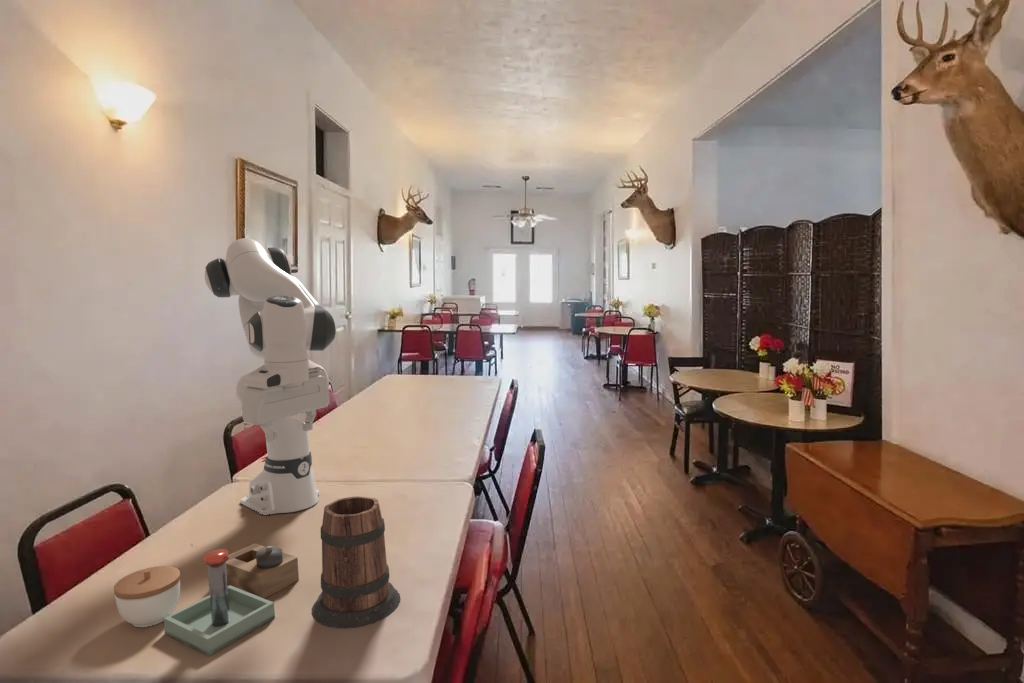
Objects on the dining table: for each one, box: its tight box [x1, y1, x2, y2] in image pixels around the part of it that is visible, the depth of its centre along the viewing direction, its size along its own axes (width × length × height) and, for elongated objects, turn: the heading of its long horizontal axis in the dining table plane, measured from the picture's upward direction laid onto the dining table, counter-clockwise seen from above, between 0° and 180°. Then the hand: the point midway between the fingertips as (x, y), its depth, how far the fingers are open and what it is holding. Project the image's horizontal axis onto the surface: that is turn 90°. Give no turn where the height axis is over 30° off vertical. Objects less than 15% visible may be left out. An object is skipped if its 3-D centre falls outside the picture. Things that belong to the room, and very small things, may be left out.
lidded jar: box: [113, 565, 181, 628], centre depth 115 cm, size 11×11×9 cm
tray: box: [163, 585, 276, 657], centre depth 112 cm, size 13×13×3 cm
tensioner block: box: [226, 543, 300, 599], centre depth 128 cm, size 14×9×8 cm, turn 59°
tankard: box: [311, 496, 402, 630], centre depth 121 cm, size 24×17×20 cm
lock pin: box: [203, 548, 230, 627], centre depth 111 cm, size 4×4×13 cm
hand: (290, 435), depth 132 cm, fingers open, 8 cm apart
